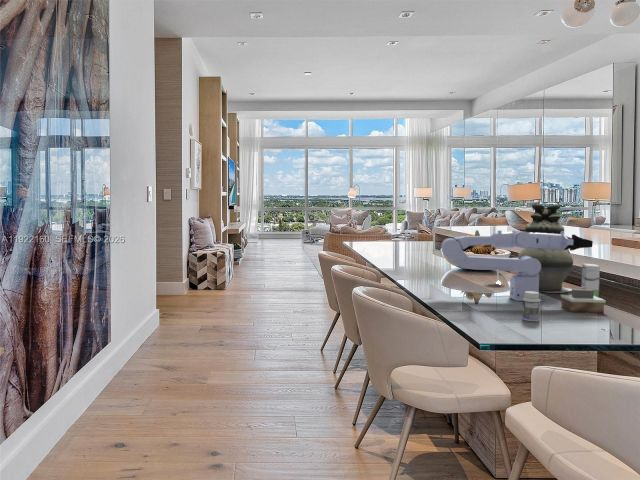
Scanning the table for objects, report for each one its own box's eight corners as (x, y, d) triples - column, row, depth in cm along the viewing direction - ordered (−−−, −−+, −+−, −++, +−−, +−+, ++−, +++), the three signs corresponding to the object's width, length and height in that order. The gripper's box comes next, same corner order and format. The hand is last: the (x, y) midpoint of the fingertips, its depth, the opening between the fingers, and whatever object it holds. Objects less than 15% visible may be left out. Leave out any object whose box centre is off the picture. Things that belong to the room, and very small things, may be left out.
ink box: (599, 297, 190) (600, 266, 189) (584, 296, 192) (585, 265, 191) (594, 293, 198) (595, 263, 197) (580, 292, 200) (581, 263, 199)
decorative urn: (528, 285, 221) (529, 205, 219) (579, 290, 206) (581, 204, 204) (507, 289, 205) (508, 204, 204) (561, 295, 191) (563, 203, 189)
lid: (571, 301, 161) (571, 291, 161) (560, 297, 170) (561, 287, 170) (605, 302, 160) (606, 292, 160) (593, 297, 169) (593, 288, 169)
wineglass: (486, 281, 225) (487, 255, 224) (499, 281, 227) (500, 255, 226) (496, 284, 219) (497, 256, 218) (509, 283, 221) (510, 256, 220)
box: (571, 312, 162) (571, 301, 162) (561, 307, 170) (561, 297, 169) (603, 312, 161) (604, 302, 161) (592, 307, 169) (592, 297, 169)
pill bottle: (525, 317, 153) (526, 290, 153) (541, 319, 151) (542, 292, 150) (520, 320, 150) (521, 292, 149) (536, 322, 147) (537, 294, 146)
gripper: (554, 229, 174) (596, 232, 171) (542, 230, 188) (581, 233, 186) (553, 249, 174) (595, 252, 171) (541, 249, 188) (580, 252, 186)
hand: (588, 244), depth 179 cm, fingers open, 7 cm apart
